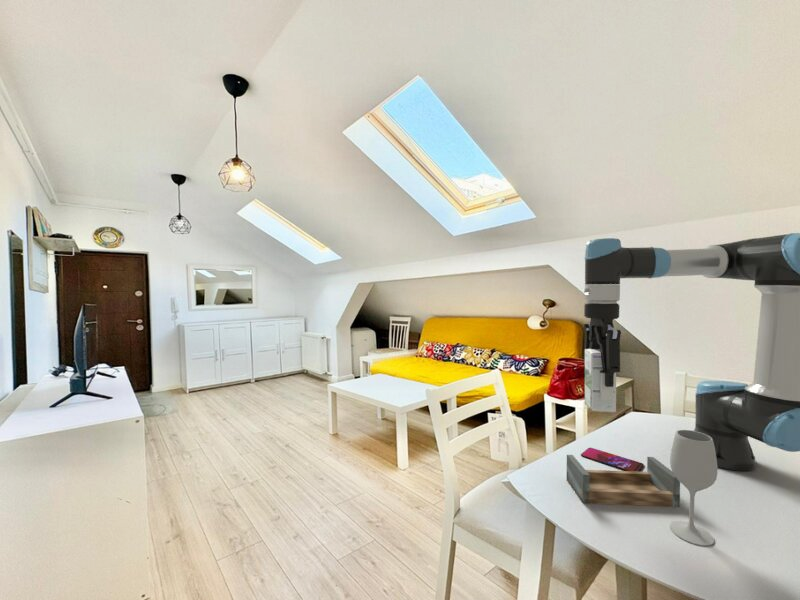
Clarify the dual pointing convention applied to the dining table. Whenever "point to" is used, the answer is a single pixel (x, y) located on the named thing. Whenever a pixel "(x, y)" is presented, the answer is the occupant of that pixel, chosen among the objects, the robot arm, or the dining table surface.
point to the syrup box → (596, 383)
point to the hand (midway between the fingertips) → (599, 394)
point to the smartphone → (612, 460)
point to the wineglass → (693, 478)
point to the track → (625, 485)
